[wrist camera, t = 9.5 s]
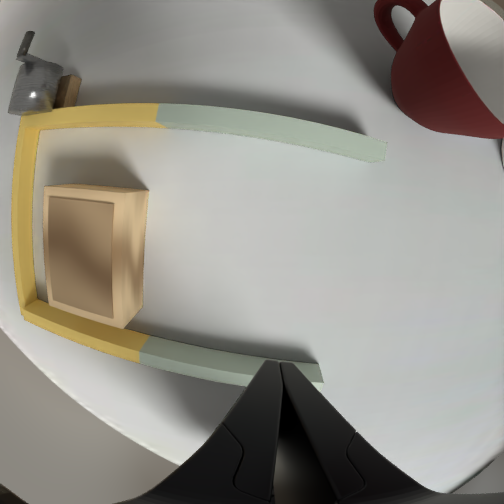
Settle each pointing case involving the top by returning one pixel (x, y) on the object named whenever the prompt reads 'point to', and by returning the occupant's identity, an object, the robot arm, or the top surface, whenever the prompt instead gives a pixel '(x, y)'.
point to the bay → (159, 116)
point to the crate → (95, 250)
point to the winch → (41, 84)
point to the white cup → (502, 151)
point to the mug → (448, 65)
